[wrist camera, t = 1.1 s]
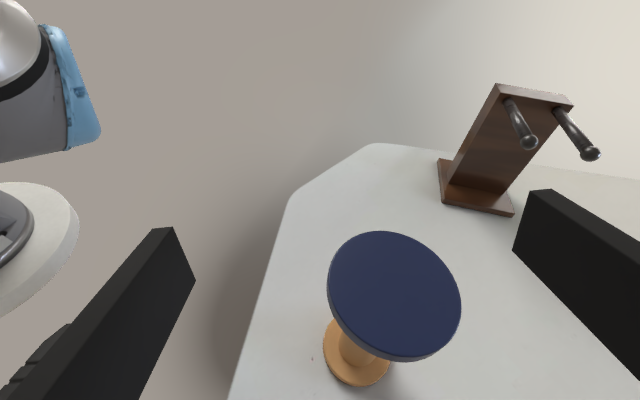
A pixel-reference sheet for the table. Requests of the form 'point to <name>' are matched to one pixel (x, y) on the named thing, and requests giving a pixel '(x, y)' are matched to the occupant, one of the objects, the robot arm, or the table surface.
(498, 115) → the wooden stand
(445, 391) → the table surface
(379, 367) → the round pedestal table
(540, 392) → the table surface
